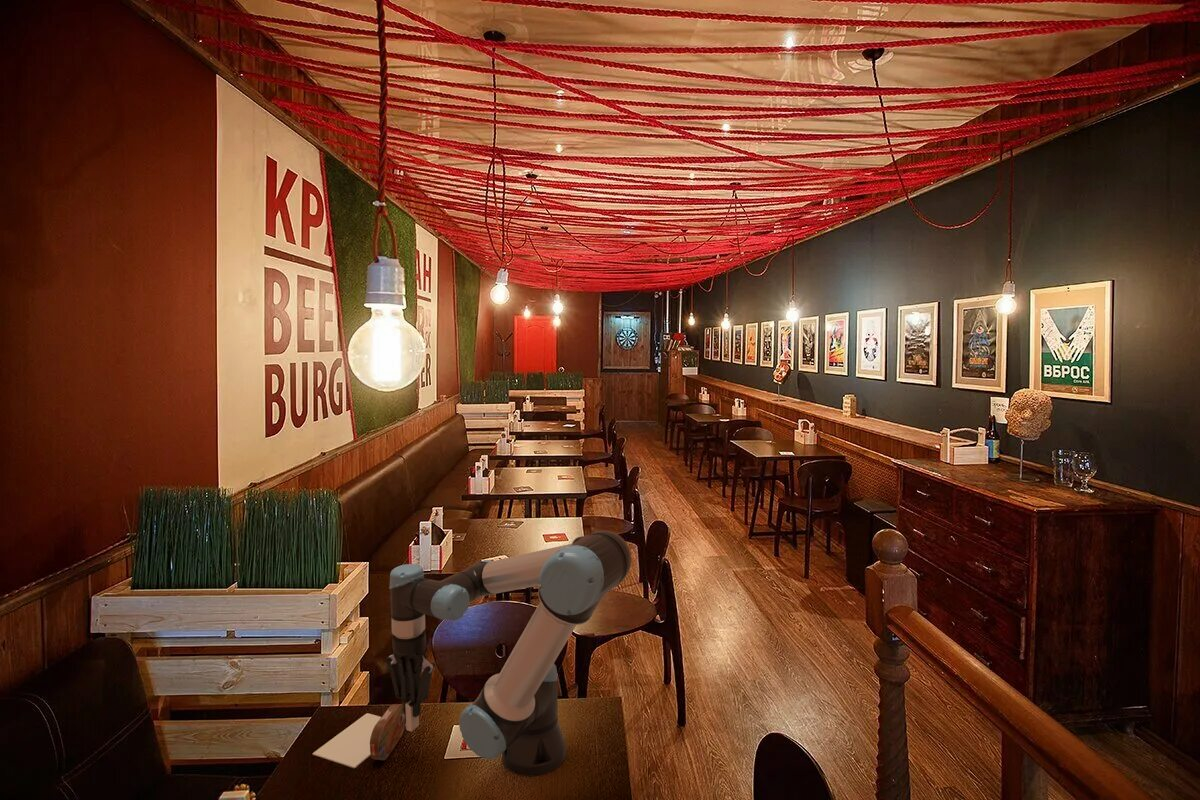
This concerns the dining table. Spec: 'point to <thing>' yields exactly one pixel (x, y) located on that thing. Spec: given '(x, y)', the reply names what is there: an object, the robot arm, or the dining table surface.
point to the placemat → (350, 743)
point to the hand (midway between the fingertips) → (412, 727)
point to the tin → (387, 732)
